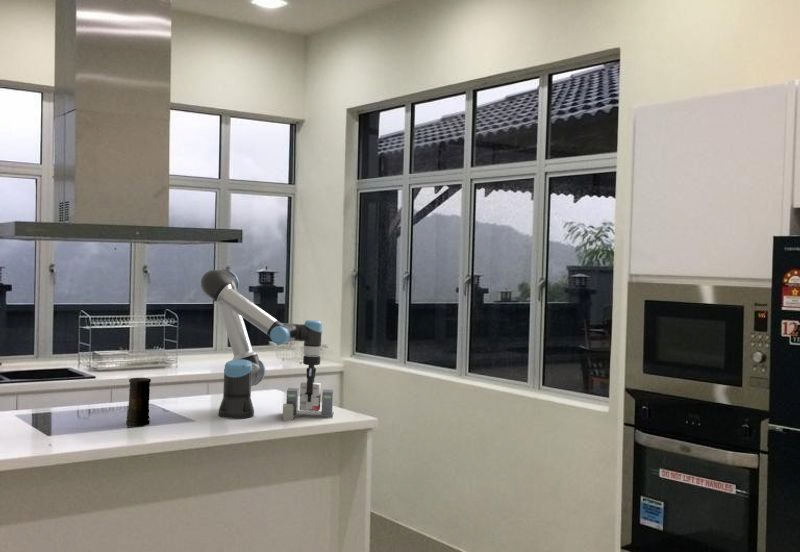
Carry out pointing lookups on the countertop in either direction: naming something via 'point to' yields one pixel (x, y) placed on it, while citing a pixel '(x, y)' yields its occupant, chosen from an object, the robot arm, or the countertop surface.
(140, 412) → the container
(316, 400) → the ink box
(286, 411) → the block
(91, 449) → the countertop surface
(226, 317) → the robot arm
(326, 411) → the grey holder fixture
